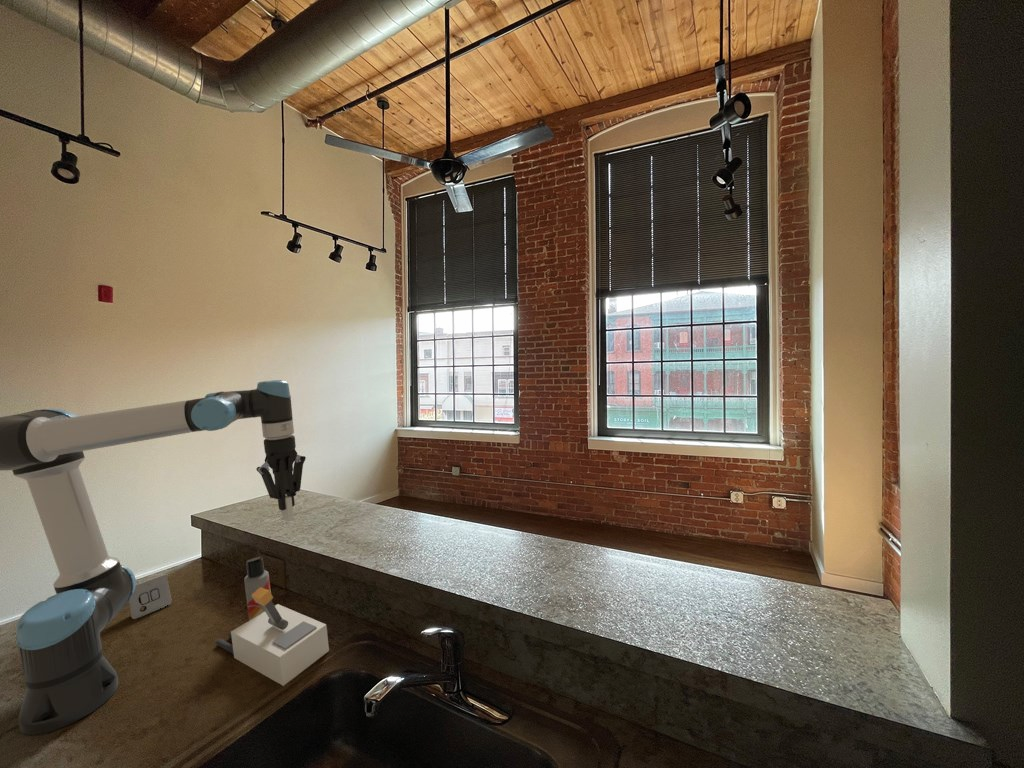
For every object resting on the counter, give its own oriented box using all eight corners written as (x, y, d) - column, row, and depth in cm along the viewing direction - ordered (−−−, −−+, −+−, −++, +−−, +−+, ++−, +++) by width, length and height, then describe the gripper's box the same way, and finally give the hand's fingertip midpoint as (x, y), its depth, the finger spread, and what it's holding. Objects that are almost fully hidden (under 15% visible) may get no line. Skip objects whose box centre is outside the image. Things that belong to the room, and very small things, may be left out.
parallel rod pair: (216, 646, 109) (215, 641, 109) (234, 635, 113) (233, 630, 113) (235, 657, 105) (234, 651, 105) (253, 645, 109) (252, 640, 109)
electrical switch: (132, 621, 122) (127, 590, 122) (128, 616, 125) (123, 585, 125) (172, 604, 129) (168, 575, 129) (168, 600, 133) (163, 571, 132)
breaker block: (234, 657, 105) (230, 629, 104) (280, 628, 115) (277, 602, 114) (283, 685, 95) (279, 655, 94) (329, 650, 105) (326, 623, 105)
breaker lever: (269, 626, 105) (249, 594, 101) (277, 618, 107) (258, 586, 103) (281, 632, 102) (261, 599, 98) (290, 623, 104) (270, 591, 100)
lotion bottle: (255, 637, 112) (247, 565, 110) (246, 629, 115) (238, 560, 113) (278, 625, 116) (270, 556, 114) (268, 618, 120) (261, 551, 118)
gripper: (263, 443, 108) (273, 531, 110) (309, 432, 119) (317, 512, 122) (246, 441, 112) (257, 526, 114) (293, 430, 123) (301, 508, 125)
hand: (288, 519), depth 118 cm, fingers closed
